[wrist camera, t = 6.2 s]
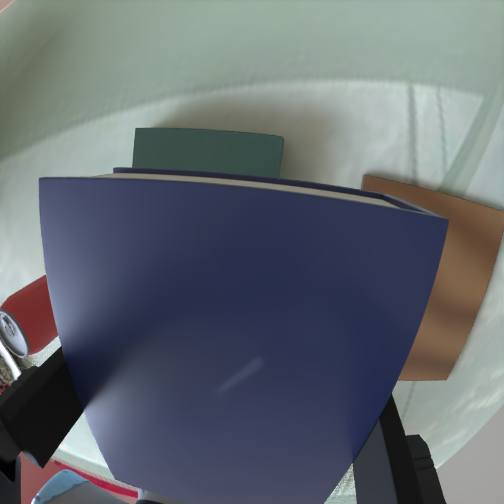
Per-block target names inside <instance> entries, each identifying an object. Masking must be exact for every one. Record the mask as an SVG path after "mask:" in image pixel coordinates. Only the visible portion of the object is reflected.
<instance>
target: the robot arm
mask: <svg viewBox="0 0 504 504" xmlns="http://www.w3.org/2000/svg"><path fill="white" fill-rule="evenodd" d="M82 413H83V409H82V407H81V404H80V401H79V399H78V396H77V393H76V390H75V387H74V385H73V382H72V379H71V376H70V372H69V369H68V366H67V363H66V361H65V357H64V354H63V350H62V347H60V348H59V349H58V350H57V351H55V352H54V353H53V354H52V355H51V356H50V357H49V358H48V359H47V360H46V361H45V362H44V363H43V364H42V365H41V366H40V367H37V366H33V367H31V368H29V369H27V370H25V371H24V372H23V373H22V374H21V375H19V376H18V377H17V380H14V381H13V382H12V383H11V386H8V387H7V388H6V389H5V390H4V391H3V392H2V393H1V394H0V504H21V459H20V457H19V454H20V452H21V451H22V452H23V453H24V455H25V456H26V457H27V459H28V460H30V461H31V462H33V463H34V464H36V465H37V466H39V467H41V468H42V469H43V468H44V466H45V465H46V463H47V462H48V460H49V459H50V458H51V456H52V455H53V453H54V452H55V451H56V449H57V448H58V446H59V445H60V443H61V442H62V441H63V439H64V438H65V436H66V435H67V434H68V432H69V431H70V430H71V428H72V427H73V425H74V424H75V423H76V421H77V420H78V419H79V417H80V416H81V414H82ZM352 463H353V471H354V480H355V489H356V499H357V504H446V502H445V499H444V496H443V493H442V489H441V486H440V482H439V479H438V476H437V472H436V469H435V468H434V463H433V460H432V458H431V454H430V451H429V448H428V445H427V444H426V442H425V441H424V440H423V439H422V438H421V437H420V435H419V434H418V435H407V436H406V435H405V432H404V429H403V426H402V423H401V420H400V417H399V414H398V410H397V407H396V405H395V402H394V399H393V396H392V393H391V395H390V397H389V399H388V401H387V403H386V405H385V407H384V409H383V411H382V413H381V415H380V417H379V418H378V420H377V422H376V424H375V426H374V428H373V429H372V431H371V433H370V435H369V436H368V438H367V440H366V441H365V443H364V445H363V446H362V448H361V450H360V451H359V453H358V455H357V456H356V458H355V459H354V461H353V462H352ZM31 504H128V503H126V502H124V501H122V500H120V499H118V498H116V497H115V496H113V495H111V494H109V493H108V492H106V491H104V490H103V489H101V488H99V487H97V486H96V485H94V484H93V483H91V482H90V481H89V480H88V479H85V478H83V477H81V476H79V475H78V474H76V473H75V472H73V471H71V470H61V471H59V472H58V473H57V474H55V475H54V476H53V477H52V478H51V479H50V480H49V481H48V482H47V483H46V484H45V485H44V486H43V487H42V489H41V490H40V491H39V492H38V494H37V495H36V497H35V498H34V499H33V501H32V503H31ZM136 504H191V503H187V502H183V501H179V500H175V499H172V498H168V497H165V496H161V495H158V494H155V493H152V492H149V491H146V490H143V489H140V488H138V499H137V502H136Z"/></svg>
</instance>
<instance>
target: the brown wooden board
mask: <svg viewBox="0 0 504 504" xmlns="http://www.w3.org/2000/svg"><path fill="white" fill-rule="evenodd" d="M361 190H365V191H371V192H377V193H382V194H387V195H391V196H394V197H396V198H399V199H401V200H404V201H406V202H409V203H411V204H414V205H416V206H419V207H421V208H424V209H426V210H428V211H431V212H433V213H435V214H438V215H440V216H442V217H445V218H447V219H449V225H448V230H447V235H446V239H445V244H444V248H443V252H442V256H441V260H440V264H439V267H438V271H437V275H436V278H435V282H434V285H433V288H432V292H431V295H430V298H429V301H428V304H427V307H426V310H425V313H424V316H423V319H422V322H421V324H420V327H419V330H418V333H417V335H416V338H415V340H414V343H413V346H412V348H411V350H410V353H409V355H408V358H407V360H406V362H405V365H404V367H403V369H402V372H401V374H400V376H399V378H398V380H397V381H431V380H447V378H448V376H449V374H450V372H451V371H452V369H453V367H454V365H455V363H456V361H457V359H458V357H459V355H460V353H461V351H462V349H463V346H464V344H465V342H466V340H467V338H468V335H469V333H470V331H471V329H472V326H473V324H474V321H475V319H476V317H477V314H478V311H479V309H480V306H481V304H482V301H483V298H484V295H485V293H486V290H487V287H488V284H489V281H490V278H491V275H492V271H493V268H494V265H495V261H496V258H497V254H498V251H499V247H500V243H501V239H502V235H503V231H504V212H502V211H499V210H496V209H493V208H490V207H487V206H484V205H481V204H478V203H474V202H471V201H468V200H464V199H461V198H458V197H454V196H451V195H447V194H443V193H440V192H436V191H432V190H428V189H425V188H421V187H417V186H413V185H408V184H404V183H400V182H396V181H391V180H387V179H382V178H378V177H373V176H368V175H363V180H362V187H361Z"/></svg>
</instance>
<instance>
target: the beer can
mask: <svg viewBox="0 0 504 504" xmlns="http://www.w3.org/2000/svg"><path fill="white" fill-rule="evenodd" d="M57 336H58V331H57V327H56V323H55V318H54V314H53V309H52V304H51V299H50V294H49V289H48V283H47V277H46V275H44V276H42V277H41V278H39V279H37V280H36V281H34V282H32V283H31V284H29V285H27V286H26V287H24V288H22V289H21V290H19V291H17V292H16V293H14V294H13V295H11V296H9V297H8V298H7V299H6V301H5V302H4V303H3V304H2V306H1V307H0V337H1V339H2V340H3V342H4V344H5V345H6V346H7V347H8V349H9V350H10V351H11V352H12V353H14V354H15V355H17V356H18V357H21V358H25V357H27V356H28V355H31V354H35V353H37V352H39V351H41V350H42V349H43V348H45V347H46V346H47V345H48V344H49V343H50V342H51V341H52V340H53V339H55V338H56V337H57Z"/></svg>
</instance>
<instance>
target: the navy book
mask: <svg viewBox="0 0 504 504" xmlns="http://www.w3.org/2000/svg"><path fill="white" fill-rule="evenodd" d="M39 208H40V224H41V236H42V246H43V255H44V263H45V270H46V277H47V283H48V289H49V294H50V299H51V304H52V309H53V314H54V318H55V323H56V327H57V331H58V335H59V339H60V343H61V347H62V350H63V354H64V357H65V361H66V363H67V366H68V369H69V372H70V376H71V379H72V382H73V385H74V387H75V390H76V393H77V396H78V399H79V401H80V404H81V407H82V409H83V412H84V415H85V417H86V420H87V422H88V425H89V427H90V429H91V432H92V434H93V436H94V438H95V441H96V443H97V445H98V447H99V449H100V451H101V453H102V455H103V457H104V459H105V461H106V463H107V465H108V467H109V469H110V471H111V473H112V475H113V476H114V478H115V480H118V481H121V482H123V483H126V484H128V485H131V486H134V487H137V488H140V489H143V490H146V491H149V492H152V493H155V494H158V495H161V496H165V497H168V498H172V499H175V500H179V501H183V502H187V503H191V504H324V502H325V501H326V500H327V498H328V497H329V496H330V494H331V493H332V492H333V490H334V489H335V487H336V486H337V485H338V483H339V482H340V480H341V479H342V477H343V476H344V475H345V473H346V472H347V470H348V469H349V467H350V466H351V464H352V462H353V461H354V459H355V458H356V456H357V455H358V453H359V451H360V450H361V448H362V446H363V445H364V443H365V441H366V440H367V438H368V436H369V435H370V433H371V431H372V429H373V428H374V426H375V424H376V422H377V420H378V418H379V417H380V415H381V413H382V411H383V409H384V407H385V405H386V403H387V401H388V399H389V397H390V395H391V393H392V391H393V389H394V387H395V385H396V383H397V380H398V378H399V376H400V374H401V372H402V369H403V367H404V365H405V362H406V360H407V358H408V355H409V353H410V350H411V348H412V346H413V343H414V340H415V338H416V335H417V333H418V330H419V327H420V324H421V322H422V319H423V316H424V313H425V310H426V307H427V304H428V301H429V298H430V295H431V292H432V288H433V285H434V282H435V278H436V275H437V271H438V267H439V264H440V260H441V256H442V252H443V248H444V244H445V239H446V235H447V230H448V225H449V219H447V218H445V217H442V216H440V215H438V214H435V213H433V212H431V211H428V210H426V209H424V208H421V207H419V206H416V205H414V204H411V203H409V202H406V201H404V200H401V199H399V198H396V197H394V196H391V195H387V194H382V193H377V192H371V191H365V190H359V189H353V188H347V187H341V186H335V185H328V184H321V183H314V182H307V181H299V180H291V179H283V178H275V177H266V176H256V175H246V174H235V173H224V172H211V171H196V170H180V169H159V168H125V167H116V168H113V174H106V175H99V176H92V177H42V178H39Z"/></svg>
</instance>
